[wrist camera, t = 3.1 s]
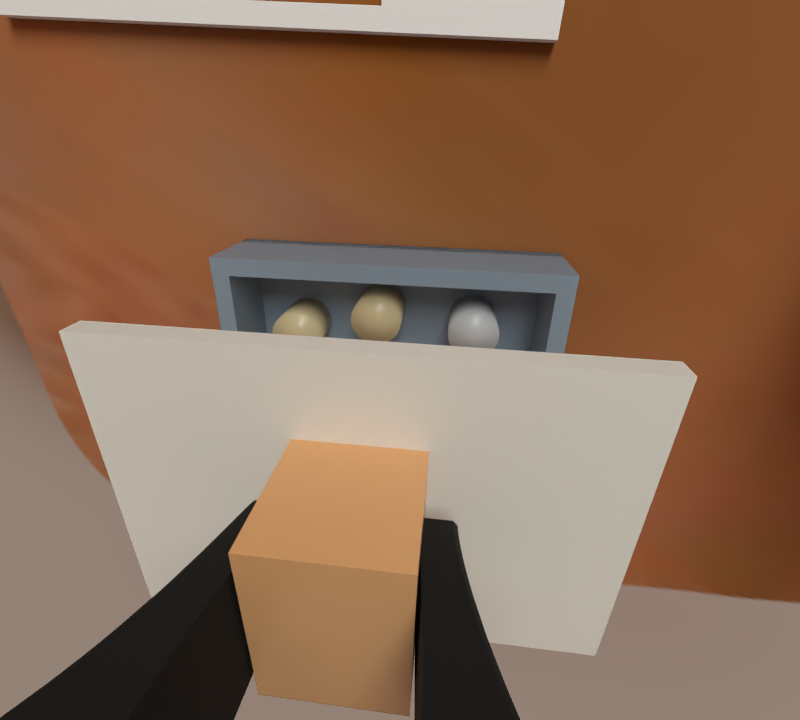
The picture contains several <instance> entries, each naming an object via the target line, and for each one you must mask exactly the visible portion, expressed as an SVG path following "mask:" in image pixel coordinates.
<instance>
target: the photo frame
mask: <svg viewBox="0 0 800 720" xmlns="http://www.w3.org/2000/svg"><path fill="white" fill-rule="evenodd" d="M564 2H565V0H382V6H375V5H351V4H326V3H302V2H278V1H253V0H0V15H3V16H6V17H10V18H22V19H44V20H66V21H88V22H109V23H131V24H153V25H174V26H196V27H218V28H240V29H261V30H283V31H305V32H326V33H348V34H370V35H391V36H413V37H435V38H457V39H478V40H500V41H522V42H543V43H555V42H556V41H557V40H558V36H559V30H560V25H561V19H562V13H563V8H564Z"/></svg>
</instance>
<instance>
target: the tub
mask: <svg viewBox="0 0 800 720" xmlns="http://www.w3.org/2000/svg"><path fill="white" fill-rule="evenodd" d="M209 261H210V267H211V273H212V279H213V285H214V290H215V296H216V302H217V308H218V314H219V319H220V325H221V330H227V331H241V332H256V333H270V334H285V335H300V336H314V337H329V338H343V339H358V340H373V341H387V342H402V343H417V344H431V345H446V346H460V347H475V348H490V349H504V350H519V351H533V352H548V353H563V354H564V351H565V346H566V341H567V336H568V331H569V326H570V321H571V317H572V312H573V307H574V302H575V297H576V292H577V287H578V282H579V278H580V276H579V275H578V273H577V272H576V271H575V270H574V269H573V268H572V267H571V265H570V264H569V263H568V262H567V261H566V260H565V259H564V257H563V256H562V255H561V254H560V253H542V252H520V251H498V250H476V249H454V248H433V247H411V246H389V245H367V244H345V243H323V242H301V241H280V240H258V239H245V240H243V241H241V242H239V243H237V244H235V245H233V246H231V247H229V248H227V249H225V250H223V251H221V252H219V253H217V254H215V255H213V256H211V257H209Z"/></svg>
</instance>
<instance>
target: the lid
mask: <svg viewBox="0 0 800 720" xmlns="http://www.w3.org/2000/svg"><path fill="white" fill-rule="evenodd" d="M59 334H60V337H61V339H62V342H63V345H64V348H65V351H66V354H67V357H68V360H69V362H70V365H71V368H72V371H73V374H74V377H75V380H76V383H77V385H78V388H79V391H80V394H81V397H82V400H83V403H84V406H85V408H86V411H87V414H88V417H89V420H90V423H91V426H92V429H93V431H94V434H95V437H96V440H97V443H98V446H99V449H100V451H101V454H102V457H103V460H104V463H105V466H106V469H107V472H108V474H109V477H110V480H111V483H112V486H113V489H114V492H115V494H116V497H117V500H118V503H119V506H120V509H121V512H122V515H123V518H124V520H125V523H126V526H127V529H128V532H129V535H130V538H131V540H132V543H133V546H134V549H135V552H136V555H137V558H138V561H139V564H140V566H141V569H142V572H143V575H144V578H145V581H146V584H147V587H148V589H149V592H150V595H151V598H152V597H153V596H155V595H156V594H157V593H158V592H159V591H160V590H161V589H162V588H164V587H165V586H166V585H167V584H168V583H169V582H170V581H171V580H172V579H173V578H174V577H175V576H176V575H177V574H179V573H180V572H181V571H182V570H183V569H184V568H185V567H186V566H187V565H188V564H189V563H190V562H191V561H192V560H193V559H194V558H196V557H197V556H198V555H199V554H200V553H201V552H202V551H203V550H204V549H205V548H206V547H207V546H208V545H209V544H210V543H211V542H212V541H213V540H214V539H215V538H216V537H217V536H218V535H219V534H220V533H221V532H222V531H223V530H224V529H225V528H226V527H227V526H228V525H229V524H230V523H231V522H232V521H233V520H234V519H235V518H236V517H237V516H238V515H239V514H240V513H241V512H242V511H243V510H244V509H245V508H246V507H247V506H248V505H249V504H250V503H252V502H253V501H254V500H257V502H256V503H255V505H254V507H253V509H252V511H251V513H250V514H249V516H248V518H247V520H246V522H245V523H244V525H243V527H242V529H241V531H240V533H239V534H238V536H237V538H236V540H235V542H234V543H233V545H232V547H231V549H230V551H229V553H228V555H229V560H230V564H231V569H232V574H233V578H234V583H235V588H236V592H237V597H238V602H239V606H240V611H241V615H242V620H243V625H244V629H245V634H246V639H247V643H248V648H249V653H250V657H251V662H252V667H253V671H254V675H255V680H256V685H257V690H258V694H260V695H266V696H273V697H280V698H287V699H294V700H301V701H307V702H314V703H321V704H328V705H335V706H342V707H349V708H356V709H362V710H369V711H376V712H383V713H390V714H397V715H404V716H409V714H410V702H411V690H412V678H413V666H414V655H415V634H416V618H417V602H418V585H419V569H420V554H421V543H422V533H423V523H424V518H431V519H441V520H450V521H454V523H455V524H456V525H457V526H458V535H459V541H460V546H461V551H462V556H463V560H464V564H465V568H466V572H467V576H468V579H469V583H470V587H471V590H472V593H473V597H474V600H475V603H476V606H477V609H478V612H479V615H480V618H481V621H482V624H483V627H484V630H485V633H486V635H487V638H488V641H489V642H491V643H499V644H507V645H514V646H522V647H530V648H539V649H546V650H554V651H561V652H569V653H577V654H584V655H593V656H595V655H596V652H597V649H598V647H599V644H600V641H601V638H602V636H603V633H604V630H605V628H606V625H607V622H608V620H609V617H610V614H611V611H612V609H613V606H614V603H615V600H616V598H617V595H618V592H619V589H620V587H621V584H622V581H623V579H624V576H625V573H626V570H627V568H628V565H629V562H630V560H631V557H632V554H633V551H634V549H635V546H636V543H637V540H638V538H639V535H640V532H641V530H642V527H643V524H644V521H645V519H646V516H647V513H648V510H649V508H650V505H651V502H652V500H653V497H654V494H655V491H656V489H657V486H658V483H659V481H660V478H661V475H662V472H663V470H664V467H665V464H666V461H667V459H668V456H669V453H670V451H671V448H672V445H673V442H674V440H675V437H676V434H677V431H678V429H679V426H680V423H681V421H682V418H683V415H684V412H685V410H686V407H687V404H688V401H689V399H690V396H691V393H692V391H693V388H694V385H695V382H696V380H697V376H696V375H695V374H694V373H693V372H692V371H691V370H690V369H689V368H688V367H687V366H686V365H685V364H684V363H683V362H680V361H665V360H650V359H636V358H621V357H607V356H592V355H577V354H563V353H548V352H533V351H519V350H504V349H490V348H475V347H460V346H446V345H431V344H417V343H402V342H387V341H373V340H358V339H343V338H329V337H314V336H300V335H285V334H270V333H256V332H241V331H227V330H212V329H197V328H183V327H168V326H153V325H139V324H124V323H110V322H95V321H79V322H77V323H74V324H72V325H70V326H68V327H66V328H64V329H62V330H60V331H59Z"/></svg>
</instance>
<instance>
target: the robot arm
mask: <svg viewBox="0 0 800 720" xmlns="http://www.w3.org/2000/svg"><path fill="white" fill-rule="evenodd" d="M256 502H257V500H254V501H253V502H252V503H250V504H249V505H248V506H247V507H246V508H245V509H244V510H243V511H242V512H241V513H240V514H239V515H238V516H237V517H236V518H235V519H234V520H233V521H232V522H231V523H230V524H229V525H228V526H227V527H226V528H225V529H224V530H223V531H222V532H221V533H220V534H219V535H218V536H217V537H216V538H215V539H214V540H213V541H212V542H211V543H210V544H209V545H208V546H207V547H206V548H205V549H204V550H203V551H202V552H201V553H200V554H199V555H198V556H197V557H196V558H194V559H193V560H192V561H191V562H190V563H189V564H188V565H187V566H186V567H185V568H184V569H183V570H182V571H181V572H180V573H179V574H177V575H176V576H175V577H174V578H173V579H172V580H171V581H170V582H169V583H168V584H167V585H166V586H165V587H164V588H162V589H161V590H160V591H159V592H158V593H157V594H156V595H155V596H153V597H152V598H151V599H150V600H149V601H148V602H147V603H145V604H144V605H143V606H142V607H141V608H140V609H139V610H137V611H136V612H135V613H134V614H133V615H132V616H130V618H128V619H127V620H126V621H125V622H124V623H122V624H121V625H120V626H119V627H118V628H117V629H116V630H114V631H113V632H112V633H111V634H109V635H108V636H107V637H106V638H105V639H103V640H102V641H101V642H100V643H99V644H97V645H96V646H95V647H93V648H92V649H91V650H90V651H89V652H87V653H86V654H85V655H84V656H82V657H81V658H80V659H79V660H77V661H76V662H75V663H73V664H72V665H71V666H69V667H68V668H67V669H66V670H64V671H63V672H62V673H60V674H59V675H58V676H56V677H55V678H54V679H52V680H51V681H50V682H49V683H47V684H46V685H45V686H43V687H42V688H40V689H39V690H38V691H36V692H35V693H34V694H32V695H31V696H29V697H28V698H27V699H25V700H24V701H23V702H21V703H20V704H19V705H17V706H16V707H14V708H13V709H12V710H10V711H9V712H7V713H6V714H5V715H3V716H2V717H1V718H0V720H234V718H235V715H236V713H237V711H238V708H239V706H240V703H241V701H242V699H243V696H244V694H245V691H246V689H247V687H248V684H249V682H250V679H251V677H252V675H253V672H254V671H253V667H252V662H251V657H250V653H249V648H248V643H247V639H246V634H245V629H244V625H243V620H242V615H241V611H240V606H239V602H238V597H237V592H236V588H235V583H234V578H233V574H232V569H231V564H230V560H229V555H228V553H229V551H230V549H231V547H232V545H233V543H234V542H235V540H236V538H237V536H238V534H239V533H240V531H241V529H242V527H243V525H244V523H245V522H246V520H247V518H248V516H249V514H250V513H251V511H252V509H253V507H254V505H255V503H256ZM415 720H520V718H519V716H518V713H517V711H516V709H515V707H514V704H513V702H512V699H511V697H510V695H509V692H508V690H507V687H506V685H505V682H504V680H503V677H502V675H501V672H500V670H499V667H498V665H497V662H496V660H495V657H494V655H493V652H492V650H491V646H490V644H489V641H488V638H487V635H486V633H485V630H484V627H483V624H482V621H481V618H480V615H479V612H478V609H477V606H476V603H475V600H474V597H473V593H472V590H471V587H470V583H469V579H468V576H467V572H466V568H465V564H464V560H463V556H462V551H461V546H460V541H459V535H458V526H457V525H456V524H455V523H454V521H450V520H441V519H431V518H424V523H423V533H422V543H421V554H420V569H419V585H418V602H417V618H416V634H415Z"/></svg>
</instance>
